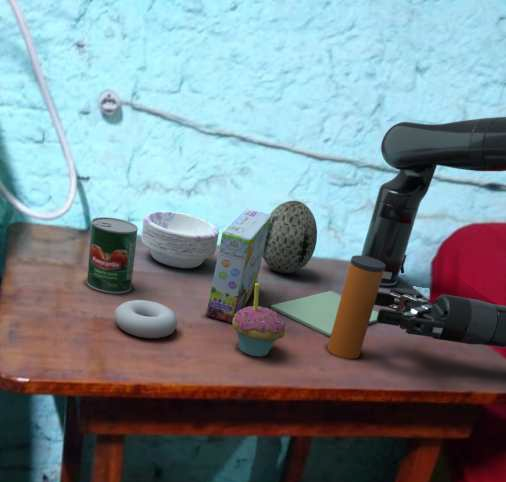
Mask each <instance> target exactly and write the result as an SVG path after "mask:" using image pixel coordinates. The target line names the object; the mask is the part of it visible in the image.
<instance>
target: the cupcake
mask: <svg viewBox="0 0 506 482" xmlns="http://www.w3.org/2000/svg"><path fill="white" fill-rule="evenodd" d="M258 282H259V281H258V278H257V279H256V284H255V290H254V292H253V305H251V306H250V305H248V306H243V308H242V309H241V310H239V311H237V313H235V314H234V317H233V321H232V323H231V324H232V328H233V329H234V330H235V331H236V334H237V339H238V348H239V350H240V351H241V352H242V353H244V354H246V355H249V356H252V357H265V356H267V355H268V354H269V352H270V350H271V349H272V347H273V345H274V344H275V342H276V341H277V340H279V339H282V338H283V337H284V336H285V334H286V333H285V331H286V328H285V327H286V323H285V321H284V319H283V318H282V316H281V315H280V314H278V312H277V311H275V310H273V309H271V308H270V307H269V308H268V307H266V306H260V305H259V294H260V283H258Z"/></svg>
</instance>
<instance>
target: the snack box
mask: <svg viewBox="0 0 506 482" xmlns="http://www.w3.org/2000/svg"><path fill="white" fill-rule="evenodd" d="M270 214H271V213H266V212H263V211H260V210H256V209H251V208H245V209H244V210H243V211H242V212H241V213H240V214H239V215H238V216H237V217H236V218H235V219H234V220H233V221H232V222H231V223H230V224H229V225H228V226H227V227H226V228H225V229H224V230H223V231H222V233H221V238H220V242H219V243H220V244H219V249H218V253H217V259H216V262H215V263H216V264H215V268H214V273H213V278H212V283H211V289H210V294H209V299H208V304H207V308H206V312H205V316H207V317H211V318H213V319H218V320H220V321H224V322H228V323H231V324H232V321H233V317H234V314H235V313H237V311H239V310H241V309H243V308H244V307H245V305H246V304H247V302H248V301H249V299H250V298H251V296H252V295H253V294H254V293H255V284H256V279H257V280H258V277H259V272H260V268H261V265H262V260H263V257H262V255H263V251H264V246H265V242H266V238H267V233H268V229H269V225H270V220H271V217H272V215H270Z"/></svg>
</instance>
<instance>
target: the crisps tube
mask: <svg viewBox="0 0 506 482" xmlns="http://www.w3.org/2000/svg"><path fill="white" fill-rule="evenodd" d="M384 269H385V264H384V263H383V262H381V261H379V260H377V259H374V258H371V257H367V256H361V254H360V255H359V254H358V255H353V256H351V258H350V262H349V267H348V270H347V274H346V277H345V282H344V285H343V287H342V292H341V299H340V303H339V307H338V311H337V314H336V318H335V322H334V326H333V329H332V333H331V337H329V341H328V344H327V350H328V352H330V353H331V354H333V355H334V356H337V357H340V358H343V359H351V360H352V359H353V360H354V359H357V358H359V357H360V355H361V351H362V347H363V344H364V342H365V341H364V340H365V337H366V334H367V331H368V327H369V325H370V324H369V321H370V317H371V314H372V310H374V307H375V305H374V304H375V300H376V297H377V293H378V292H379V289H380V287H381V286H380V283H381V280H382V276H383V273H384ZM368 324H369V325H368Z"/></svg>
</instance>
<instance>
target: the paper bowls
mask: <svg viewBox="0 0 506 482" xmlns="http://www.w3.org/2000/svg"><path fill="white" fill-rule="evenodd" d="M219 234H220V231H219V229H218V227H217V226H216V225H215V224H213V223H212V222H210V221H208V220H206V219H203V218H201V217H198V216H195V215H193V214H188V213H184V212H183V213H182V212H176V211H170V210H157V211H156V210H155V211H151V212H147V213H146V214H145V215H144V216H143V219H142V229H141V238H140V239H141V240H140V241H141V242H142V244H143V245H144V246H145V247H146V248H148V249H149V252H150V255H151V257H152V258H153V259H154V260H155V261H157V262H158V263H161V264H163V265H166V266H168V267H173V268H178V269H193V268H198V267H199V266H201V265H202V263H203V262H204V261H205V259H209V258H211V257H214V256H215V253H216V250H217V245H218V241H219V240H218V239H219Z"/></svg>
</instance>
